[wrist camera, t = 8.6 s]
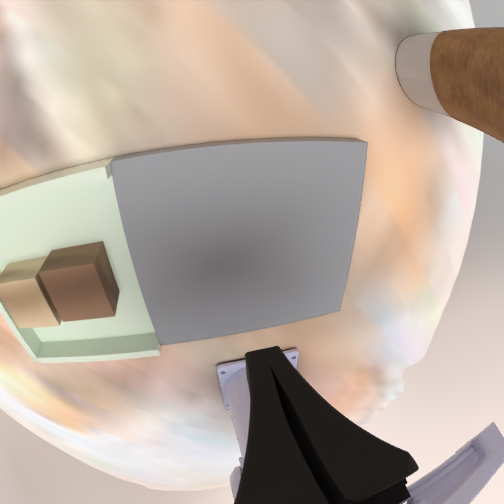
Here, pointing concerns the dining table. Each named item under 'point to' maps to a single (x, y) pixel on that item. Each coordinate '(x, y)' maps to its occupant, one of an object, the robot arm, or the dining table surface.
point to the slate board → (240, 231)
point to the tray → (67, 235)
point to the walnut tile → (81, 282)
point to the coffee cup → (457, 75)
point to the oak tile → (27, 295)
